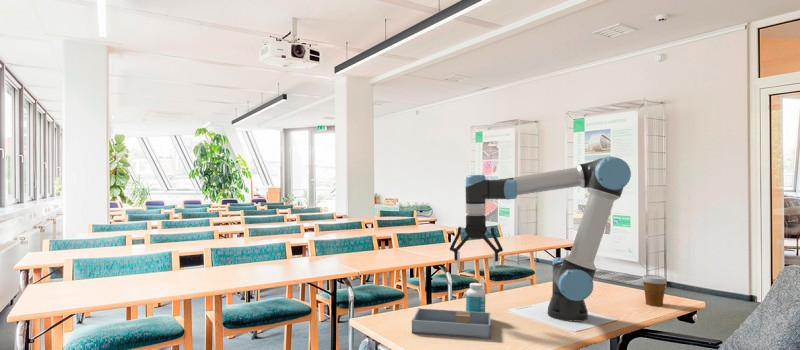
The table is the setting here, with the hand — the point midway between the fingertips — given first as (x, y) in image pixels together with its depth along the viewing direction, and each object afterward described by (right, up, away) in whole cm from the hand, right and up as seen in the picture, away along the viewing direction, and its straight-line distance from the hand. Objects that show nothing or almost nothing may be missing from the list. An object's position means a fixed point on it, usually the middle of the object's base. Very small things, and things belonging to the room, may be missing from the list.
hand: (476, 269), depth 180 cm
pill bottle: (0, -20, +1) cm, 20 cm away
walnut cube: (-7, -19, -11) cm, 23 cm away
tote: (-11, -19, -11) cm, 25 cm away
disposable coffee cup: (+82, -20, +23) cm, 87 cm away
